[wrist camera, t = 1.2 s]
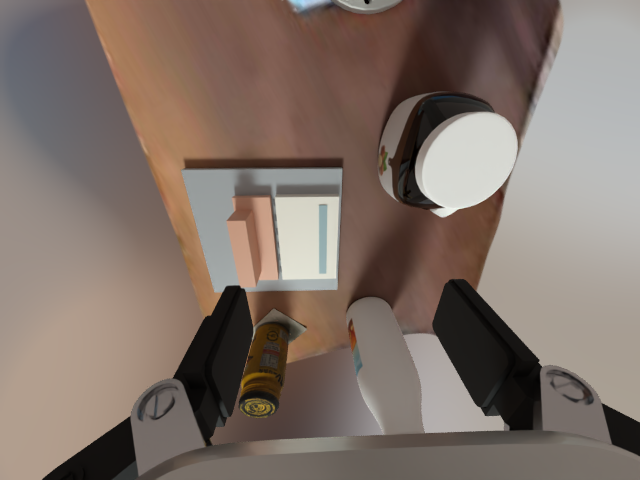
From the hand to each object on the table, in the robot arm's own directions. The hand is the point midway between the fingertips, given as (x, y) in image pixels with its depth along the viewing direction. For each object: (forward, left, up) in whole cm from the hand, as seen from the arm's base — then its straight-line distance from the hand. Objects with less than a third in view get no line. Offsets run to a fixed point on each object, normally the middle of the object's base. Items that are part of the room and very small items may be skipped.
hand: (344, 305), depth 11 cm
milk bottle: (+21, +8, -21) cm, 31 cm away
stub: (+6, -9, -19) cm, 22 cm away
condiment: (+25, -8, -21) cm, 34 cm away
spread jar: (-4, +12, -21) cm, 24 cm away
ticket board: (+6, -7, -20) cm, 22 cm away
